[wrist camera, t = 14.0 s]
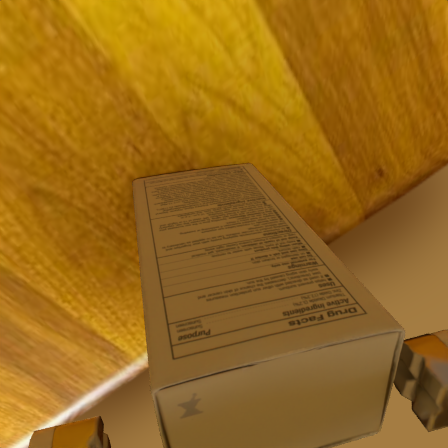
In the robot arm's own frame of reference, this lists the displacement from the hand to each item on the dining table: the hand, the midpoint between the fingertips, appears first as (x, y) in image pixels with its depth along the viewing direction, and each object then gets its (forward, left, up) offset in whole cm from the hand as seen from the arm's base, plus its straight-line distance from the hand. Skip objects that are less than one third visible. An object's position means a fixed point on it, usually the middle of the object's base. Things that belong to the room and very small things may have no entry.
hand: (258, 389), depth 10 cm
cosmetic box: (0, 0, -11) cm, 11 cm away
